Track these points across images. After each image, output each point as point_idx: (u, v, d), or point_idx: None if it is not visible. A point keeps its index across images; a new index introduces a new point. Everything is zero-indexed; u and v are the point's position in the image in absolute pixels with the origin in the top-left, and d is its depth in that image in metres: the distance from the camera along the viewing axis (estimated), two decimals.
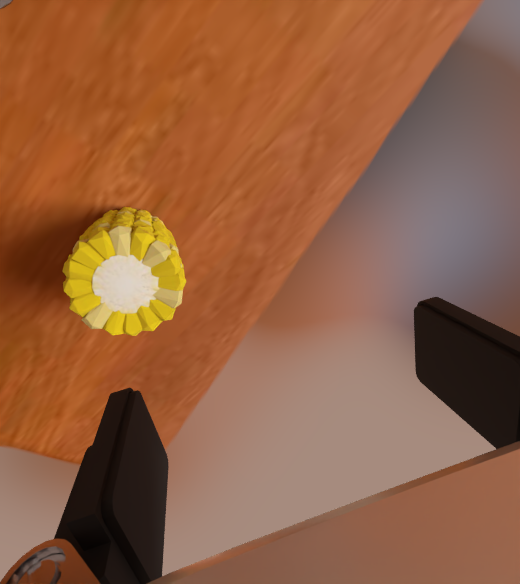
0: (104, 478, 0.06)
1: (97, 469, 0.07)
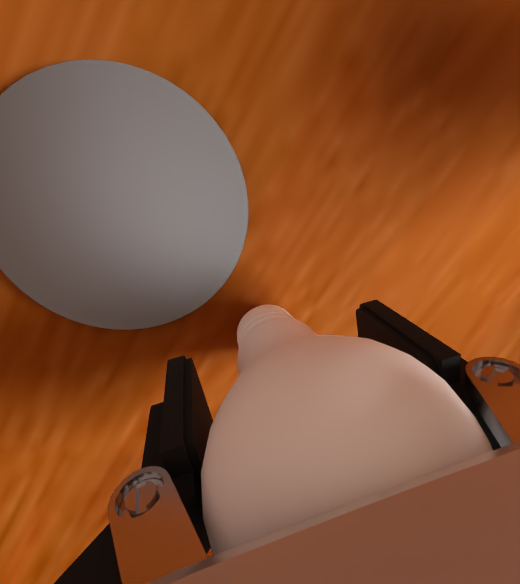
0: (182, 421, 0.08)
1: (174, 415, 0.08)
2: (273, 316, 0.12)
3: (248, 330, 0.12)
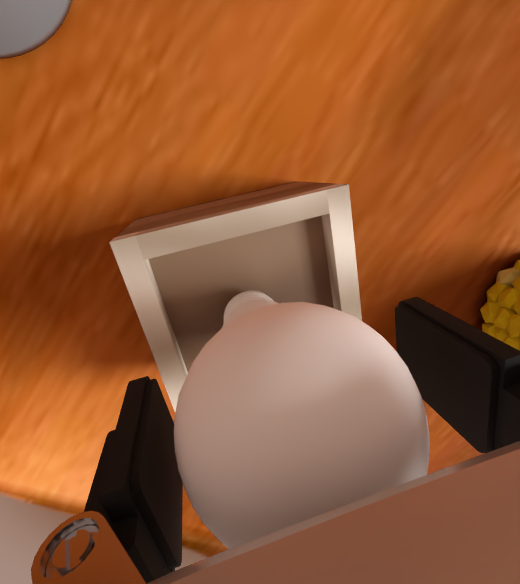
0: (130, 457, 0.07)
1: (122, 449, 0.07)
2: (254, 299, 0.13)
3: (232, 311, 0.13)
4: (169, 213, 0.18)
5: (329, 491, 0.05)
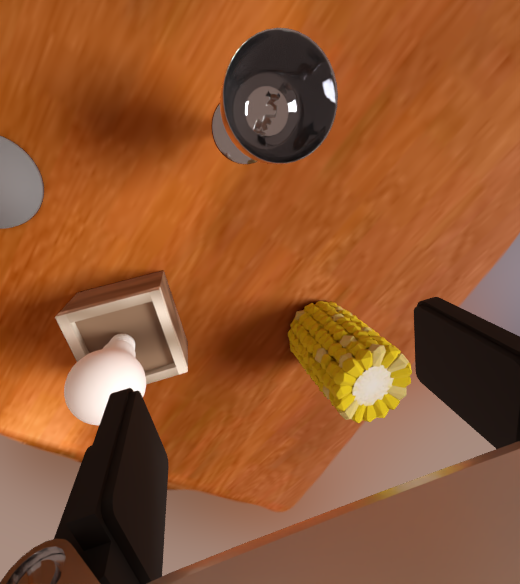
0: (103, 478, 0.06)
1: (97, 469, 0.07)
2: (117, 339, 0.32)
3: None
4: (92, 291, 0.37)
5: (91, 398, 0.24)
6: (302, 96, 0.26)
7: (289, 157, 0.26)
